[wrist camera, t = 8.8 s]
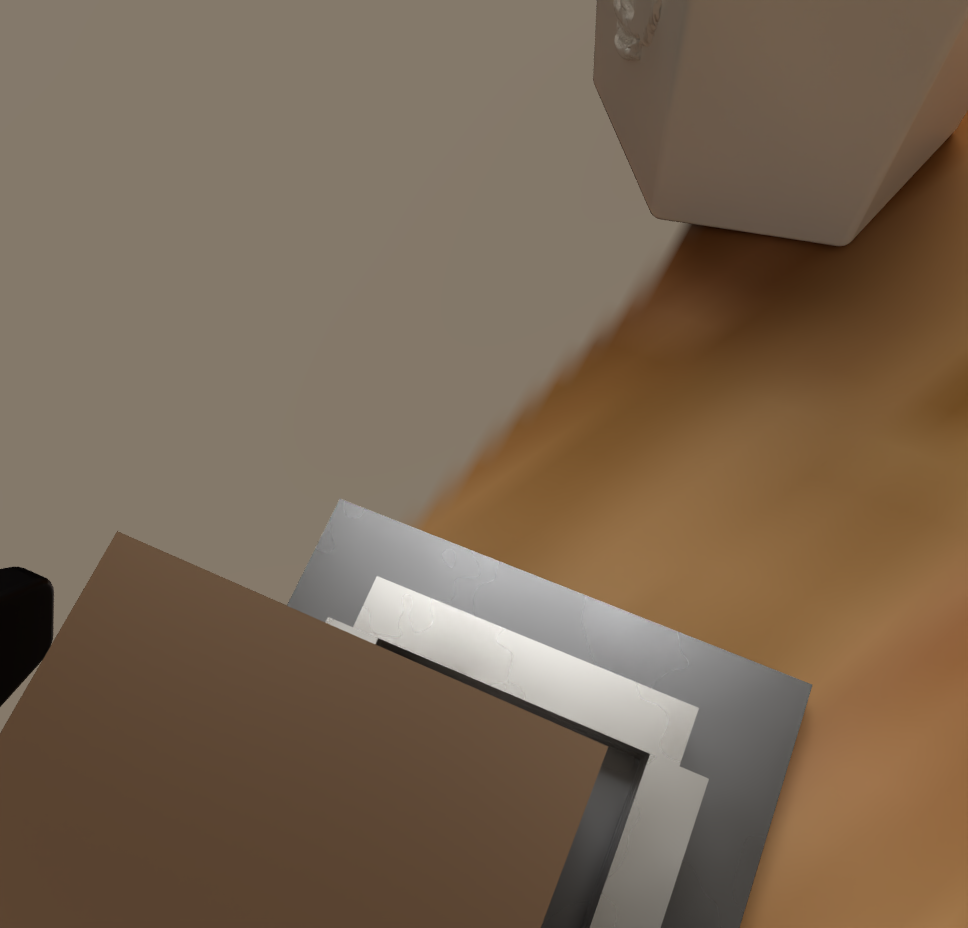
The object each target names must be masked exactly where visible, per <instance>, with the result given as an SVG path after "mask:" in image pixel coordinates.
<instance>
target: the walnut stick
mask: <svg viewBox="0 0 968 928" xmlns="http://www.w3.org/2000/svg"><path fill="white" fill-rule="evenodd" d="M607 749H608V746H606V745H604V744H601V743H599V742H597V741H594V740H592V739H590V738H588V737H585V736H583V735H581V734H578V733H576V732H574V731H572V730H569V729H567V728H565V727H562V726H560V725H558V724H556V723H553V722H551V721H549V720H546V719H544V718H542V717H540V716H537V715H535V714H533V713H531V712H528V711H526V710H524V709H521V708H519V707H517V706H515V705H512V704H510V703H508V702H505V701H503V700H501V699H499V698H496V697H494V696H492V695H489V694H487V693H485V692H483V691H480V690H478V689H476V688H474V687H471V686H469V685H467V684H464V683H462V682H460V681H458V680H455V679H453V678H451V677H448V676H446V675H444V674H442V673H439V672H437V671H435V670H432V669H430V668H428V667H426V666H423V665H421V664H419V663H416V662H414V661H412V660H410V659H407V658H405V657H403V656H401V655H398V654H396V653H394V652H391V651H389V650H387V649H385V648H382V647H380V646H378V645H375V644H373V643H371V642H369V641H366V640H364V639H362V638H359V637H357V636H355V635H353V634H350V633H348V632H346V631H344V630H341V629H339V628H337V627H334V626H332V625H330V624H328V623H325V622H323V621H321V620H318V619H316V618H314V617H312V616H309V615H307V614H305V613H302V612H300V611H298V610H296V609H293V608H291V607H289V606H287V605H284V604H282V603H280V602H277V601H275V600H273V599H270V598H268V597H266V596H264V595H261V594H259V593H257V592H254V591H252V590H250V589H248V588H245V587H243V586H241V585H239V584H236V583H234V582H232V581H230V580H227V579H225V578H223V577H220V576H218V575H215V574H213V573H211V572H209V571H207V570H204V569H202V568H200V567H197V566H195V565H193V564H191V563H188V562H186V561H184V560H182V559H179V558H177V557H175V556H172V555H170V554H168V553H165V552H163V551H161V550H159V549H157V548H154V547H152V546H150V545H147V544H145V543H143V542H141V541H138V540H136V539H134V538H131V537H129V536H127V535H125V534H122V533H120V532H118V531H117V533H116V534H115V536H114V538H113V540H112V541H111V543H110V545H109V546H108V548H107V550H106V552H105V553H104V555H103V557H102V558H101V560H100V562H99V564H98V566H97V567H96V569H95V571H94V572H93V574H92V576H91V577H90V580H89V581H88V583H87V585H86V586H85V588H84V590H83V591H82V593H81V595H80V596H79V598H78V600H77V602H76V603H75V605H74V607H73V609H72V610H71V612H70V614H69V615H68V617H67V619H66V621H65V622H64V624H63V626H62V628H61V629H60V631H59V633H58V634H57V636H56V638H55V640H54V641H53V643H52V645H51V647H50V648H49V650H48V652H47V653H46V655H45V657H44V659H43V660H42V662H41V664H40V666H39V667H38V669H37V671H36V672H35V674H34V676H33V678H32V679H31V681H30V683H29V684H28V686H27V688H26V690H25V691H24V693H23V695H22V697H21V698H20V700H19V702H18V703H17V705H16V707H15V709H14V711H13V712H12V714H11V716H10V718H9V719H8V721H7V723H6V724H5V726H4V728H3V729H2V731H1V733H0V928H541V926H542V923H543V920H544V918H545V915H546V912H547V910H548V907H549V904H550V902H551V899H552V896H553V894H554V891H555V888H556V886H557V883H558V880H559V878H560V875H561V872H562V869H563V867H564V864H565V861H566V859H567V856H568V853H569V851H570V848H571V845H572V843H573V840H574V837H575V835H576V832H577V829H578V827H579V824H580V821H581V819H582V816H583V813H584V811H585V808H586V805H587V802H588V800H589V797H590V794H591V792H592V789H593V786H594V784H595V781H596V778H597V776H598V773H599V770H600V768H601V765H602V762H603V760H604V757H605V754H606V752H607Z"/></svg>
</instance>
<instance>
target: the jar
mask: <svg viewBox="0 0 968 928" xmlns="http://www.w3.org/2000/svg"><path fill="white" fill-rule="evenodd" d="M593 81H594V84H595V87H596V89H597V91H598V93H599V96H600V98H601V100H602V102H603V105H604V107H605V109H606V112H607V114H608V116H609V119H610V121H611V123H612V125H613V128H614V130H615V132H616V135H617V137H618V139H619V141H620V144H621V146H622V148H623V150H624V153H625V155H626V157H627V159H628V162H629V164H630V166H631V169H632V171H633V173H634V175H635V178H636V180H637V182H638V185H639V187H640V189H641V191H642V194H643V196H644V198H645V201H646V203H647V205H648V207H649V210H650V212H651V214H652V215H653V216H655V217H656V218H658V219H663V220H669V221H676V222H683V223H689V224H696V225H703V226H709V227H716V228H722V229H729V230H736V231H742V232H749V233H755V234H762V235H768V236H775V237H781V238H788V239H794V240H801V241H807V242H814V243H820V244H826V245H833V246H845V245H847V244H849V243H850V242H851V241H852V240H853V239H854V238H855V237H856V236H857V235H858V234H859V233H860V232H861V231H862V230H863V228H864V227H865V226H866V225H867V224H868V223H869V222H870V221H871V220H872V219H873V218H874V217H875V215H876V214H877V213H878V212H879V211H880V210H881V209H882V208H883V207H884V206H885V205H886V204H887V203H888V202H889V200H890V199H891V198H892V197H893V196H894V195H895V194H896V193H897V192H898V191H899V190H900V189H901V188H902V187H903V185H904V184H905V183H906V182H907V181H908V180H909V179H910V178H911V177H912V176H913V175H914V174H915V173H916V172H917V170H918V169H919V168H920V167H921V166H922V165H923V164H924V163H925V162H926V161H927V160H928V159H929V158H930V157H931V155H932V154H933V153H934V152H935V151H936V150H937V149H938V148H939V147H940V146H941V145H942V144H943V143H944V142H945V141H946V140H947V139H948V137H949V136H950V135H951V134H952V133H953V132H954V131H955V130H956V129H957V127H958V126H959V124H960V122H961V121H962V119H963V117H964V116H965V114H966V112H967V111H968V0H597V5H596V26H595V47H594V69H593Z"/></svg>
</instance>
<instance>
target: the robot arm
mask: <svg viewBox="0 0 968 928" xmlns="http://www.w3.org/2000/svg"><path fill="white" fill-rule="evenodd" d="M53 610H54V590H53V586H52V584H51V582H50V581H49V580H48V579H47V578H44V577H43V576H40V575H38V574H36V573H34V572H32V571H29V570H27V569H25V568H21V567H9V568H4V569H0V707H1V705H2V704H3V703H4V702H5V701H6V700H7V699H8V698H9V697H10V696H11V694H12V693H13V692H14V691H15V690H16V689H17V688H18V687H19V686H20V684H21V683H22V682H23V681H24V680H25V679H26V678H27V677H28V675H29V674H30V673H31V672H32V671H33V670H34V669H35V668H36V667H37V666H38V665H39V663H40V662H41V661H42V660H43V659H44V657H45V655H46V653H47V652H48V650H49V648H50V646H51V643H52V640H53V613H54V611H53Z"/></svg>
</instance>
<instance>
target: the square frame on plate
mask: <svg viewBox="0 0 968 928" xmlns="http://www.w3.org/2000/svg"><path fill="white" fill-rule="evenodd" d="M287 606H289V607H291V608H293V609H296V610H298V611H300V612H302V613H305V614H307V615H309V616H312V617H314V618H316V619H318V620H321V621H323V622H325V623H328V624H330V625H332V626H334V627H337V628H339V629H341V630H344V631H346V632H348V633H350V634H353V635H355V636H357V637H359V638H362V639H364V640H366V641H369V642H371V643H373V644H375V645H378V646H380V647H382V648H385V649H387V650H389V651H391V652H394V653H396V654H398V655H401V656H403V657H405V658H407V659H410V660H412V661H414V662H416V663H419V664H421V665H423V666H426V667H428V668H430V669H432V670H435V671H437V672H439V673H442V674H444V675H446V676H448V677H451V678H453V679H455V680H458V681H460V682H462V683H464V684H467V685H469V686H471V687H474V688H476V689H478V690H480V691H483V692H485V693H487V694H489V695H492V696H494V697H496V698H499V699H501V700H503V701H505V702H508V703H510V704H512V705H515V706H517V707H519V708H521V709H524V710H526V711H528V712H531V713H533V714H535V715H537V716H540V717H542V718H544V719H546V720H549V721H551V722H553V723H556V724H558V725H560V726H562V727H565V728H567V729H569V730H572V731H574V732H576V733H578V734H581V735H583V736H585V737H588V738H590V739H592V740H594V741H597V742H599V743H601V744H604V745H606V746H608V749H607V752H606V754H605V757H604V760H603V762H602V765H601V768H600V770H599V773H598V776H597V778H596V781H595V784H594V786H593V789H592V792H591V794H590V797H589V800H588V802H587V805H586V808H585V811H584V813H583V816H582V819H581V821H580V824H579V827H578V829H577V832H576V835H575V837H574V840H573V843H572V845H571V848H570V851H569V853H568V856H567V859H566V861H565V864H564V867H563V869H562V872H561V875H560V878H559V880H558V883H557V886H556V888H555V891H554V894H553V896H552V899H551V902H550V904H549V907H548V910H547V912H546V915H545V918H544V920H543V923H542V926H541V928H739V927H740V924H741V921H742V917H743V914H744V911H745V907H746V904H747V901H748V897H749V894H750V891H751V887H752V884H753V881H754V877H755V874H756V871H757V867H758V864H759V861H760V857H761V854H762V851H763V847H764V844H765V841H766V837H767V834H768V831H769V828H770V824H771V821H772V818H773V814H774V811H775V808H776V804H777V801H778V798H779V794H780V791H781V788H782V784H783V781H784V778H785V774H786V771H787V768H788V764H789V761H790V758H791V754H792V751H793V748H794V744H795V741H796V738H797V734H798V731H799V728H800V724H801V721H802V718H803V714H804V711H805V708H806V704H807V701H808V698H809V694H810V691H811V688H812V684H809V683H807V682H804V681H802V680H799V679H796V678H794V677H791V676H789V675H786V674H784V673H781V672H779V671H776V670H774V669H771V668H769V667H766V666H764V665H761V664H758V663H756V662H753V661H751V660H748V659H746V658H743V657H741V656H738V655H736V654H733V653H731V652H728V651H725V650H723V649H720V648H718V647H715V646H713V645H710V644H708V643H705V642H703V641H700V640H698V639H695V638H692V637H690V636H687V635H685V634H682V633H680V632H677V631H675V630H672V629H670V628H667V627H665V626H662V625H660V624H657V623H654V622H652V621H649V620H647V619H644V618H642V617H639V616H637V615H634V614H632V613H629V612H627V611H624V610H621V609H619V608H616V607H614V606H611V605H609V604H606V603H604V602H601V601H599V600H596V599H594V598H591V597H588V596H586V595H583V594H581V593H578V592H576V591H573V590H571V589H568V588H566V587H563V586H561V585H558V584H556V583H553V582H550V581H548V580H545V579H543V578H540V577H538V576H535V575H533V574H530V573H528V572H525V571H523V570H520V569H517V568H515V567H512V566H510V565H507V564H505V563H502V562H500V561H497V560H495V559H492V558H490V557H487V556H485V555H482V554H479V553H477V552H474V551H472V550H469V549H467V548H464V547H462V546H459V545H457V544H454V543H452V542H449V541H446V540H444V539H441V538H439V537H436V536H434V535H431V534H429V533H426V532H424V531H421V530H419V529H416V528H413V527H411V526H408V525H406V524H403V523H401V522H398V521H396V520H393V519H391V518H388V517H386V516H383V515H381V514H378V513H375V512H373V511H370V510H368V509H365V508H363V507H360V506H358V505H355V504H353V503H350V502H348V501H345V500H342V499H339V501H338V503H337V505H336V507H335V509H334V511H333V513H332V515H331V517H330V520H329V522H328V523H327V525H326V527H325V530H324V532H323V534H322V536H321V538H320V540H319V542H318V544H317V546H316V548H315V550H314V552H313V554H312V556H311V558H310V560H309V562H308V564H307V566H306V568H305V570H304V572H303V574H302V576H301V578H300V580H299V582H298V584H297V586H296V589H295V590H294V592H293V594H292V596H291V598H290V600H289V602H288V605H287Z"/></svg>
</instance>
